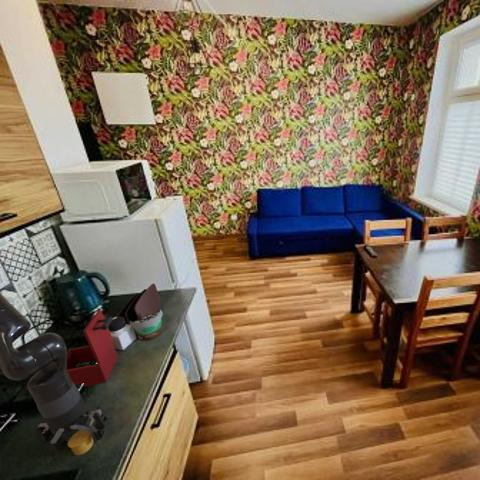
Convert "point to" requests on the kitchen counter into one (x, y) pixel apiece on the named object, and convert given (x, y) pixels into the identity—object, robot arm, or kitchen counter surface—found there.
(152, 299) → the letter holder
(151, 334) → the food container
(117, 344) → the medicine bottle
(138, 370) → the kitchen counter surface
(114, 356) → the maroon rectangular box
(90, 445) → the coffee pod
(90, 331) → the box lid
